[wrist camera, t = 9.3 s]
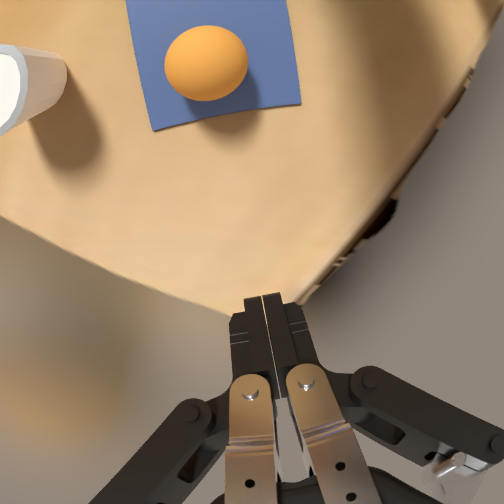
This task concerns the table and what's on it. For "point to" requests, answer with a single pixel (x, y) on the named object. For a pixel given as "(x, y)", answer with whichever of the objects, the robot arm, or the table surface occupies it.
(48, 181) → the table surface
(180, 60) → the ball
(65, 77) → the white cup
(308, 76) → the table surface
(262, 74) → the mark
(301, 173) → the table surface
